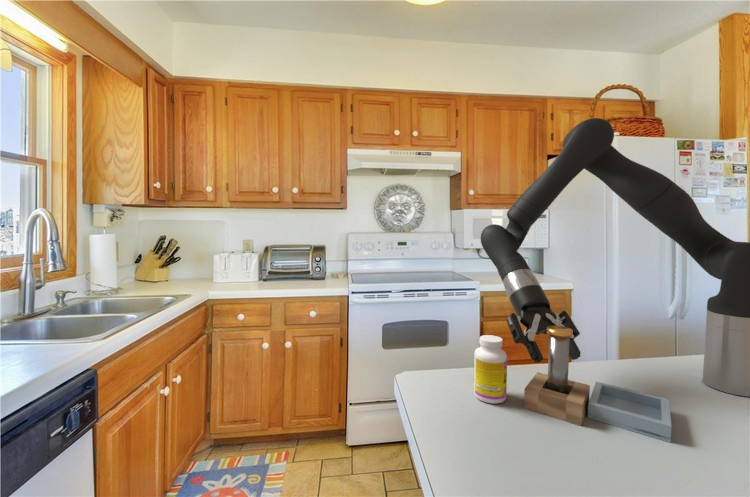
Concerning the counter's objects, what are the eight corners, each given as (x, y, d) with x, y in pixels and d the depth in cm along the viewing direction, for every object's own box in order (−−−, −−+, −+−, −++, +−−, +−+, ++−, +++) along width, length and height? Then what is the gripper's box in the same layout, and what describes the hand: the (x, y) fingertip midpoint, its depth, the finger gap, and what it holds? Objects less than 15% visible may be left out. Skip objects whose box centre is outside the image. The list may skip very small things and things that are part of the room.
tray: (595, 393, 74) (596, 381, 74) (667, 412, 67) (668, 398, 66) (587, 417, 65) (588, 403, 65) (670, 442, 57) (671, 426, 57)
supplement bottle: (508, 406, 69) (510, 344, 68) (475, 403, 70) (476, 342, 69) (503, 391, 75) (504, 334, 75) (472, 388, 77) (473, 332, 76)
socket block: (536, 389, 76) (537, 372, 76) (589, 404, 70) (589, 385, 70) (524, 407, 68) (524, 388, 68) (581, 426, 62) (582, 404, 62)
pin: (547, 398, 72) (549, 324, 71) (571, 405, 69) (574, 328, 69) (541, 406, 69) (544, 329, 68) (567, 414, 66) (570, 333, 65)
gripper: (503, 284, 75) (535, 354, 64) (560, 282, 78) (600, 349, 67) (490, 302, 81) (518, 369, 70) (544, 300, 83) (578, 364, 73)
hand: (558, 359), depth 69 cm, fingers open, 8 cm apart
